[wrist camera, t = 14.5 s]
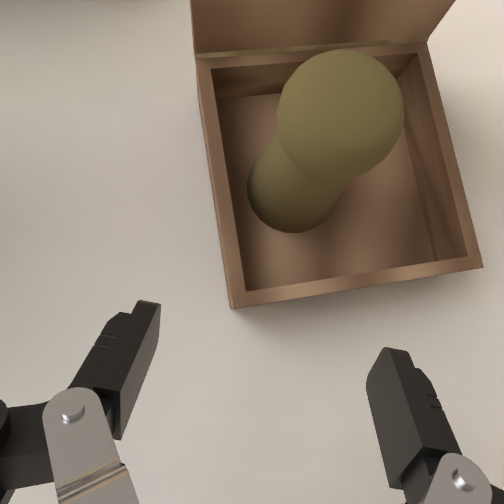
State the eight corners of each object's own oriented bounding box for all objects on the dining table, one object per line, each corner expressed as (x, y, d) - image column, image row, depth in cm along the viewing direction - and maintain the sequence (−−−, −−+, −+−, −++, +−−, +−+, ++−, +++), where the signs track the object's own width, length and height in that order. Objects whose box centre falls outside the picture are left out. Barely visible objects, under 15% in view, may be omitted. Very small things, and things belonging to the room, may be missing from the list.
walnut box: (230, 308, 23) (233, 308, 19) (197, 96, 25) (195, 57, 21) (441, 274, 25) (483, 267, 21) (395, 79, 27) (426, 40, 23)
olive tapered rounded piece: (348, 171, 25) (452, 65, 14) (313, 248, 24) (398, 198, 13) (269, 132, 25) (313, -5, 14) (231, 208, 24) (246, 123, 13)
